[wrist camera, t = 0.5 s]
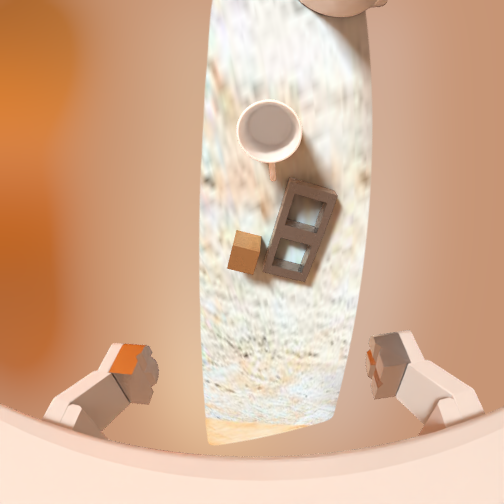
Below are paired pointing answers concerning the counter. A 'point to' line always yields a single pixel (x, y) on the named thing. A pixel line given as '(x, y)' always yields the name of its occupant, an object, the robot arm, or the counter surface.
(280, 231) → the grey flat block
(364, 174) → the counter surface
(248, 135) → the mug
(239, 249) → the wooden toy block
